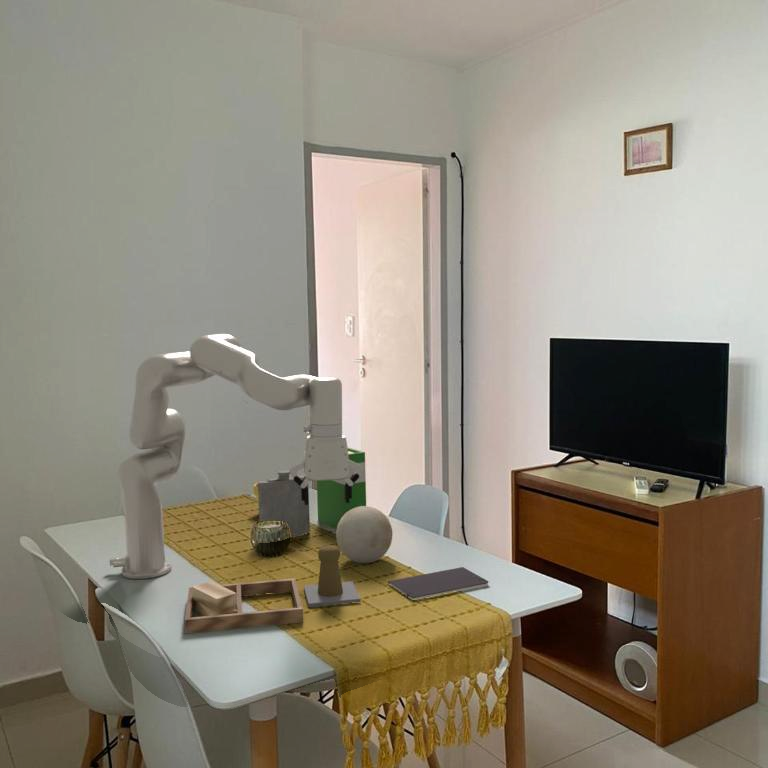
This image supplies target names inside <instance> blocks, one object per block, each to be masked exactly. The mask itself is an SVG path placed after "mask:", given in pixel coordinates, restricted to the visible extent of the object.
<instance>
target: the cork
mask: <svg viewBox="0 0 768 768" xmlns="http://www.w3.org/2000/svg"><path fill="white" fill-rule="evenodd" d="M317 556H318V559H319V562H320V564H319V566H320V567H319V575H318V594H319V595H321V596H326V597H331V596H337V595H340V594H342V593H343V588H342V582H343V581H342V578H341V577H342V576H341V570H340V566H339V560H340V558H341V550H340V548H339V546H336V545H323V546H322V547H320V548H319V549H318V553H317Z"/></svg>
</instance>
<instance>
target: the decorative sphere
mask: <svg viewBox="0 0 768 768" xmlns="http://www.w3.org/2000/svg"><path fill="white" fill-rule="evenodd" d="M335 532H336V533H335V537H336V543H337V545H338V546H337V547H338V548H339V550H340V553H342V554H343V555H344V556H345V557H346V558H347V559H349V560H351V561H352V562H355V563H359V564H371V563H374V562H376V561H379V560H380V559H382V557H384V556H385V555H386V554H387V553H388V551H389V549H390V547H391V545H392V540H393V533H394V532H393V528H392V524H391V522H390V520H389V519H388V517H387V516H386V514H384V512H382V511H381V510H379V509H378V508H376V507H373V506H368V505H366V506H360V507H356V508H353V509H351V510H349V511H348V512H347V513H346V514H344V516H343V517H342V518H341V520H340V521H339V523H338V526H337V530H336V531H335Z"/></svg>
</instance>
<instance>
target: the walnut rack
mask: <svg viewBox="0 0 768 768" xmlns="http://www.w3.org/2000/svg"><path fill="white" fill-rule="evenodd" d="M219 585H220V586H222V587H224V588H227V589H229V590H231V591H233V592H235V593H237V606H236V610H237V613H235V614H224V615H213V616H203V617H202V616H193V613H194V612H193V611H194V607H193V599H192V587H193V586H192V587H188V591H187V592H188V593H187V594H188V595H187V601H186V609H185V615H184V616H185V618H184V626H185V627H184V629H185V630H184V631H185V634H193V633H195V634H196V633H205V632H216V631H226V630H235V629H236V630H238V629H246V628H256V627H267V626H268V627H269V626H278V625H288V623H289V624H298V623H304V607H303V604H302V600H301V597H300V592H299V589H298V588H299V587H298V585H297V580H296V578H284V579H274V580H271V579H270V580H263V581H262V580H261V581H252V582H241V583H228V584H219ZM282 592H289V593H291V594H292V595H293V596H292V600H293V599H294V600H293V603H294V607H290V608H282V609H281V608H280V609H278V608H277V609H270V610H269V609H268V610H259V611H258V610H257V611H247V612H243V604H242V602H243V601H242V597H241V596H244V595H256V594H266V593H278V594H283V593H282ZM256 596H257V595H256ZM244 597H245V596H244Z"/></svg>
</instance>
